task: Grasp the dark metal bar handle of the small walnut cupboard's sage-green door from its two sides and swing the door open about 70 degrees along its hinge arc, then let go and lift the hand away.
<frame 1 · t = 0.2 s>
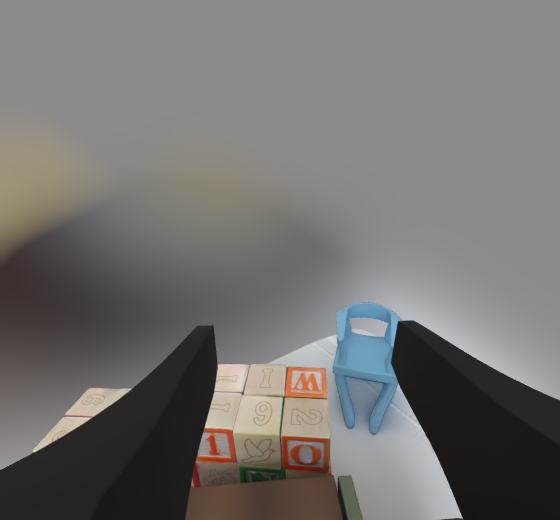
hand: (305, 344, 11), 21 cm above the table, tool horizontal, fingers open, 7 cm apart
chair: (363, 402, 35), on the table
stack of blocks: (206, 499, 26), on the table
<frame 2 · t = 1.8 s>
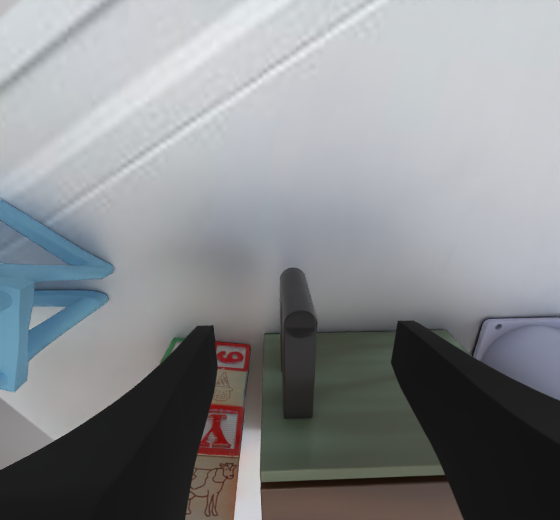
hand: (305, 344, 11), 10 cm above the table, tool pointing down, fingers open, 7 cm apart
cupboard: (349, 388, 25), on the table
chair: (52, 265, 20), on the table
stack of blocks: (205, 432, 27), on the table
cupboard door: (385, 341, 17), point 5 cm above the table, hinge at 0.0°
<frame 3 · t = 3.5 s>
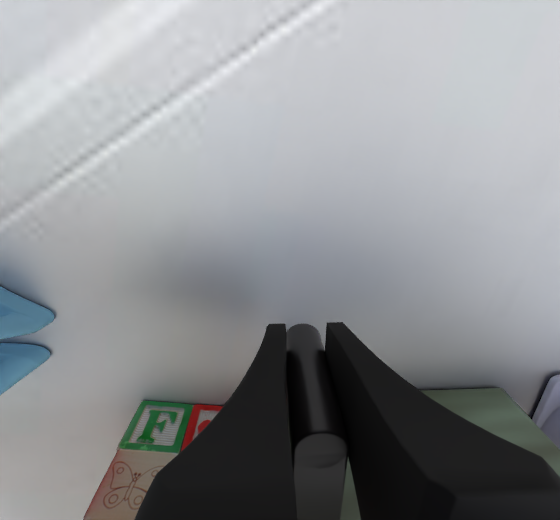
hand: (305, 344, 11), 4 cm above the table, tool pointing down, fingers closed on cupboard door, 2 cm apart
stack of blocks: (188, 506, 22), on the table
cupboard door: (439, 436, 12), point 5 cm above the table, hinge at 0.0°, touching gripper
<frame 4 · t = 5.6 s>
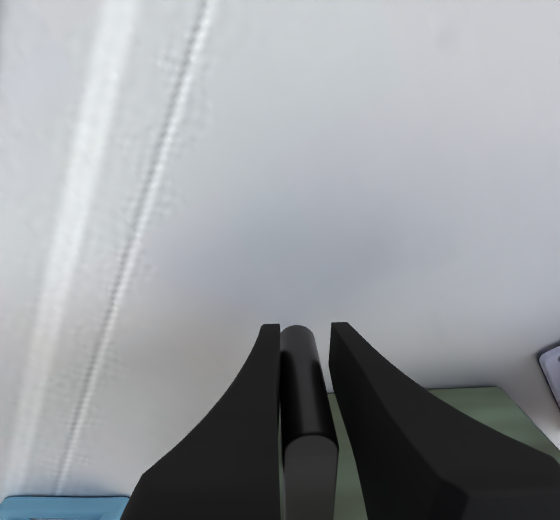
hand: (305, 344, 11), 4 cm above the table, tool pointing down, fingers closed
chair: (86, 515, 22), on the table
cupboard door: (434, 436, 12), point 5 cm above the table, hinge at 33.7°, touching gripper
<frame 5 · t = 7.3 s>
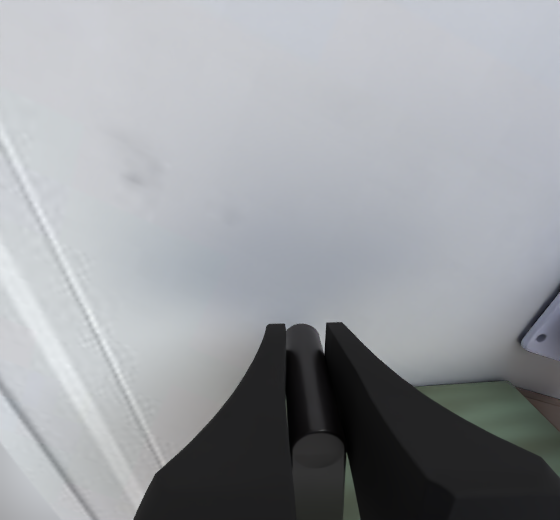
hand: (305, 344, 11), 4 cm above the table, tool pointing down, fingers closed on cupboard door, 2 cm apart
cupboard: (508, 475, 21), on the table
cupboard door: (442, 431, 12), point 5 cm above the table, hinge at 67.3°, touching gripper
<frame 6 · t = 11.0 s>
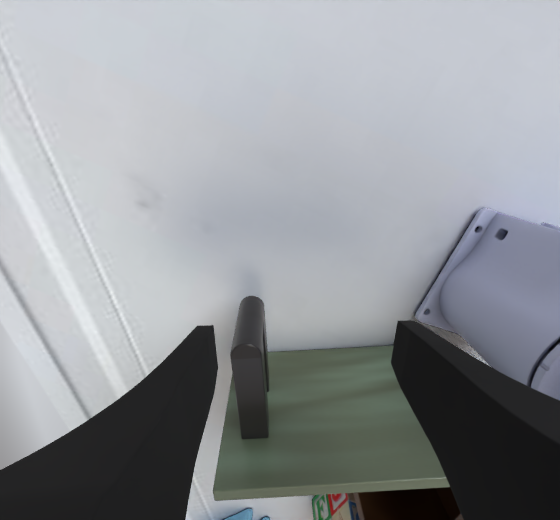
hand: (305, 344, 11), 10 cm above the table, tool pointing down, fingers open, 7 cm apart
cupboard: (424, 421, 28), on the table
stack of blocks: (403, 507, 33), on the table
cupboard door: (337, 363, 18), point 5 cm above the table, hinge at 67.8°
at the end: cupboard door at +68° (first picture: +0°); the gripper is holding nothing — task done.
